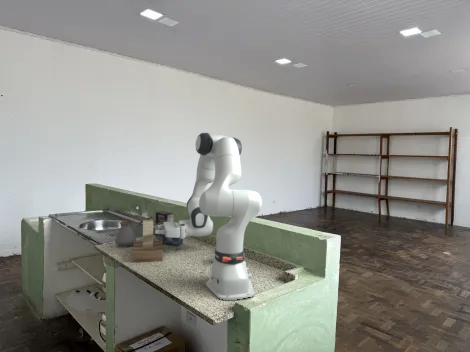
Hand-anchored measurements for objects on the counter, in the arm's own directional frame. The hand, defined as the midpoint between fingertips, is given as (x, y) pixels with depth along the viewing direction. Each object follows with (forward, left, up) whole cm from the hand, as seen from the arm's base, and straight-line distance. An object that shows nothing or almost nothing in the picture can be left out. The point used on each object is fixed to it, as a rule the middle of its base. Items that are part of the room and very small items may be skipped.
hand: (154, 229), depth 167 cm
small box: (+19, -11, -14) cm, 26 cm away
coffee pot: (+23, +11, -14) cm, 28 cm away
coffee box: (+32, -7, -14) cm, 36 cm away
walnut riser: (0, +3, -13) cm, 14 cm away
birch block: (0, +3, -8) cm, 9 cm away
